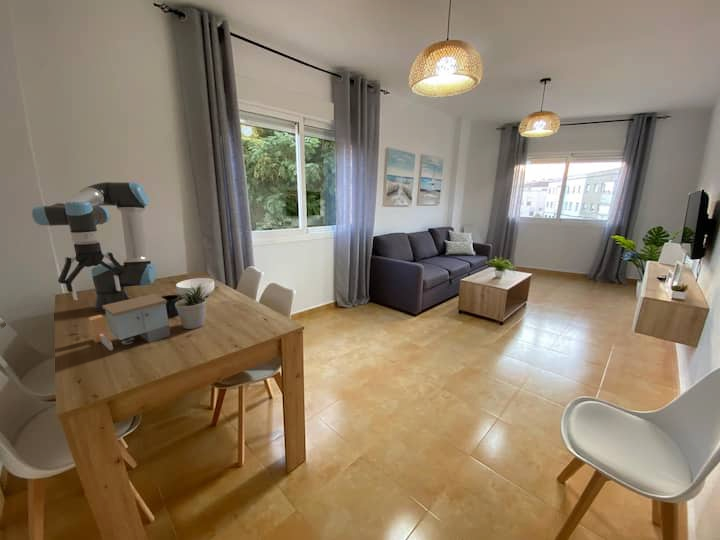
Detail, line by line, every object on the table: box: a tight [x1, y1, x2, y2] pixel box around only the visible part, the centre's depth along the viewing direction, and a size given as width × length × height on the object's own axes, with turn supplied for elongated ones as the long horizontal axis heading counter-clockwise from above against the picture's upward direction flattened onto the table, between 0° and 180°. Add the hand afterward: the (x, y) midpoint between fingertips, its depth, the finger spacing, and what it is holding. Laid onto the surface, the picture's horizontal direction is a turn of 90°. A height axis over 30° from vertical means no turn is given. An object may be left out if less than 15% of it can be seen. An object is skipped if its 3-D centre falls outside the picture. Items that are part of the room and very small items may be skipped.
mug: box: [161, 294, 180, 319], centre depth 146 cm, size 9×12×9 cm
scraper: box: [87, 314, 114, 351], centre depth 118 cm, size 16×4×10 cm, turn 54°
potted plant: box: [175, 285, 208, 330], centre depth 134 cm, size 13×14×20 cm
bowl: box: [175, 277, 215, 299], centre depth 174 cm, size 20×20×8 cm
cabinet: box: [102, 293, 171, 344], centre depth 121 cm, size 14×18×16 cm
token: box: [120, 337, 136, 346], centre depth 121 cm, size 4×4×1 cm
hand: (98, 294), depth 119 cm, fingers open, 13 cm apart
